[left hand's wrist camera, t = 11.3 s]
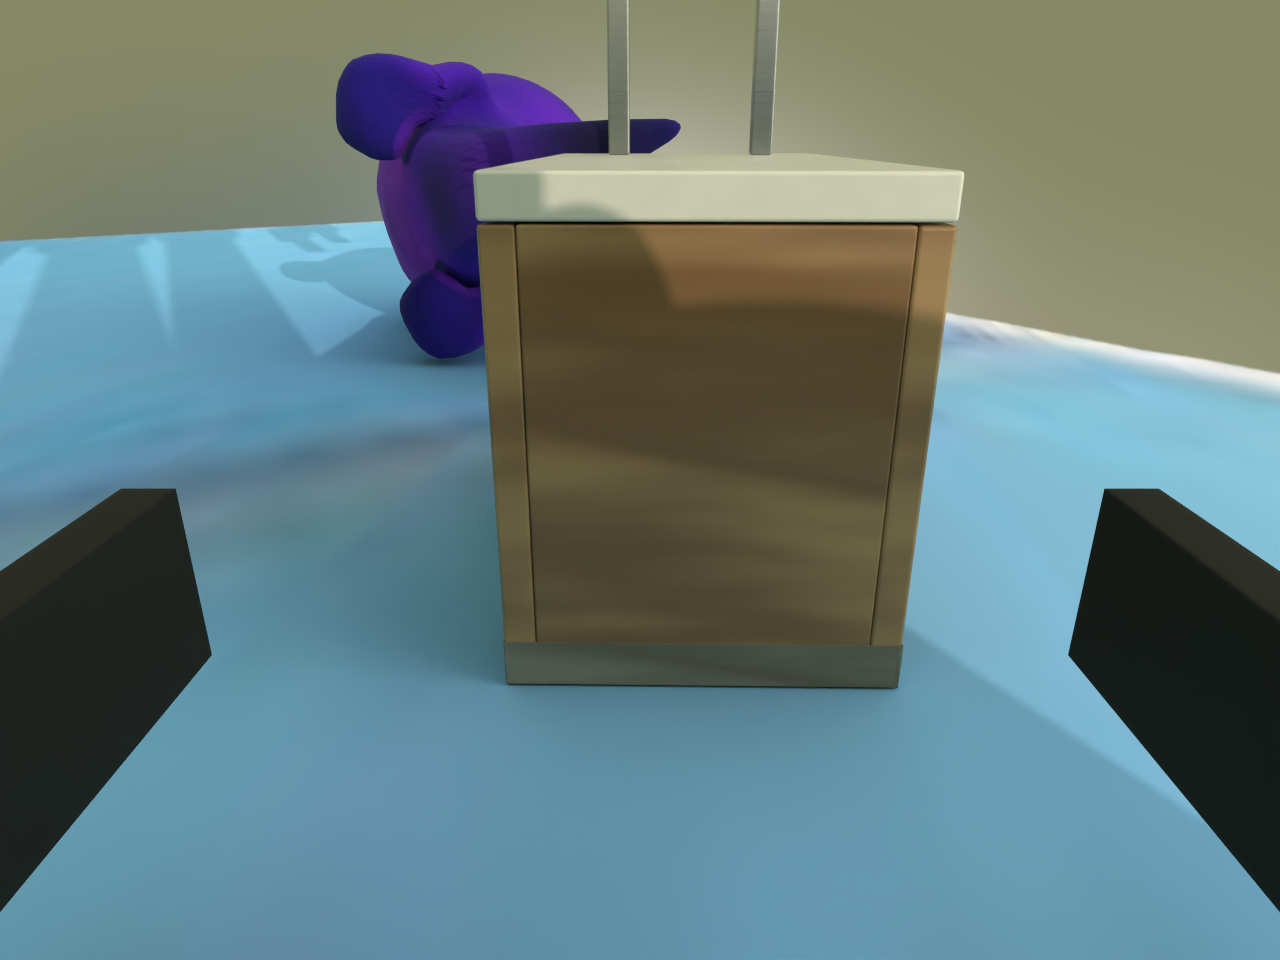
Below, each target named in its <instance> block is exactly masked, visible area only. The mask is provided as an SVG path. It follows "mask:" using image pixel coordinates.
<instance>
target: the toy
mask: <svg viewBox="0 0 1280 960" xmlns="http://www.w3.org/2000/svg"><path fill="white" fill-rule="evenodd" d="M336 122H337V128H338V131H339V133H340V135H341V136H342V138H343V139H344V140H345V142H346V143H347V144H349V145H350V146H351V147H353V148H354V149H356V150H358V151H359V152H361V153H363V154H365V155H366V156H368V157H370V158H373V159H376V160H380V161H379V168H378V175H377V193H378V198H379V203H380V208H381V212H382V216H383V220H384V223H385V226H386V229H387V233H388V236H389V238H390V241H391V243H392V246H393V248H394V251H395V253H396V256H397V259H398V261H399V263H400V266H401V268H402V270H403V271H404V273H405V274H406V276H407V277H408V279H409V280H410V281H411V283H410V285H409V286H408V288H407V289H406V290H405V292H404V293H403V295H402V297H401V300H400V312H401V315H402V318H403V321H404V323H405V325H406V326H407V328H408V330H409V332H410V334H411V335H412V337H413V339H414V340H415V342H416V343H417V344H418V345H419V347H421V348H422V349H423V350H424V351H425V352H427V353H428V354H430V355H432V356H434V357H437V358H439V359H443V358H454V357H457V356H461V355H464V354H467V353H470V352H472V351H474V350H476V349H478V348H479V347H481V346H482V345H484V329H483V315H482V300H481V285H480V270H479V255H478V241H477V226H478V225H480V224H482V223H484V222H486V221H479V220H477V218H476V210H475V195H474V181H473V174H474V171H477V170H480V169H486V168H491V167H496V166H501V165H507V164H512V163H517V162H522V161H528V160H533V159H538V158H543V157H549V156H554V155H559V154H564V153H591V154H609V132H608V120H599V121H583V122H582V121H581V120H580V118H579V117H578V116H577V115H576V114H575V113H574V111H573V110H572V109H571V108H570V107H569V106H568V105H567V104H566V103H565V102H563V101H562V100H561V99H560V98H558V97H557V96H556V95H554V94H553V93H552V92H550V91H548V90H547V89H545V88H543V87H541V86H539V85H538V84H535V83H533V82H531V81H528V80H525V79H522V78H519V77H516V76H511V75H506V74H497V73H486V74H482V72H481V71H479V70H478V69H477V68H475V67H474V66H472V65H470V64H466V63H463V62H446V63H441V64H435V65H430V64H426V63H423V62H420V61H416V60H413V59H409V58H406V57H402V56H398V55H393V54H379V53H377V54H369V55H364V56H361V57H359V58H356V59H353V60H352V61H351V62H350V63H349V64H348V65H347V66H346V68H345V69H344V71H343V73H342V75H341V77H340V79H339V81H338V87H337V92H336ZM680 128H681V127H680V124H679V123H678V122H676V121H674V120H669V119H630V154H650V153H652V152H653V151H655V150H656V149H658V148H659V147H661V146H663V145H664V144H666V143H667V142H669V141H670V140H671V139H673V138H674V137H675V136H676V135H677V134H678V132H679V130H680Z"/></svg>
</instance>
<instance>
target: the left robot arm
mask: <svg viewBox="0 0 1280 960" xmlns="http://www.w3.org/2000/svg"><path fill="white" fill-rule="evenodd" d="M211 655H212V654H211V649H210V644H209V640H208V635H207V631H206V626H205V622H204V617H203V612H202V608H201V603H200V599H199V594H198V590H197V585H196V580H195V576H194V571H193V567H192V562H191V557H190V553H189V548H188V544H187V539H186V535H185V530H184V525H183V521H182V516H181V512H180V507H179V502H178V498H177V493H176V489H120V490H119V491H117V492H116V493H114V494H113V495H111V496H110V497H108V498H107V499H105V500H104V501H103V502H101V503H100V504H98V505H97V506H95V507H94V508H92V509H91V510H89V511H88V512H86V513H85V514H83V515H82V516H81V517H79V518H78V519H76V520H75V521H73V522H72V523H70V524H69V525H67V526H66V527H64V528H63V529H61V530H60V531H59V532H57V533H56V534H54V535H53V536H51V537H50V538H48V539H47V540H45V541H44V542H42V543H41V544H39V545H38V546H37V547H35V548H34V549H32V550H31V551H29V552H28V553H26V554H25V555H23V556H22V557H20V558H19V559H17V560H16V561H15V562H13V563H12V564H10V565H9V566H7V567H6V568H4V569H3V570H1V571H0V911H1V910H2V909H3V908H4V907H5V905H6V904H7V903H8V902H9V901H10V899H11V898H12V897H13V896H14V894H15V893H16V892H17V891H18V890H19V888H20V887H21V886H22V885H23V884H24V882H25V881H26V880H27V879H28V877H29V876H30V875H31V874H32V873H33V871H34V870H35V869H36V868H37V867H38V865H39V864H40V863H41V862H42V860H43V859H44V858H45V857H46V856H47V854H48V853H49V852H50V851H51V850H52V848H53V847H54V846H55V845H56V843H57V842H58V841H59V840H60V839H61V837H62V836H63V835H64V834H65V833H66V831H67V830H68V829H69V828H70V827H71V825H72V824H73V823H74V822H75V820H76V819H77V818H78V817H79V816H80V814H81V813H82V812H83V811H84V810H85V808H86V807H87V806H88V805H89V803H90V802H91V801H92V800H93V799H94V797H95V796H96V795H97V794H98V793H99V791H100V790H101V789H102V788H103V786H104V785H105V784H106V783H107V782H108V780H109V779H110V778H111V777H112V776H113V774H114V773H115V772H116V771H117V769H118V768H119V767H120V766H121V765H122V763H123V762H124V761H125V760H126V759H127V757H128V756H129V755H130V754H131V752H132V751H133V750H134V749H135V748H136V746H137V745H138V744H139V743H140V742H141V740H142V739H143V738H144V737H145V735H146V734H147V733H148V732H149V731H150V729H151V728H152V727H153V726H154V725H155V723H156V722H157V721H158V720H159V718H160V717H161V716H162V715H163V714H164V712H165V711H166V710H167V709H168V708H169V706H170V705H171V704H172V703H173V701H174V700H175V699H176V698H177V697H178V695H179V694H180V693H181V692H182V691H183V689H184V688H185V687H186V686H187V684H188V683H189V682H190V681H191V680H192V678H193V677H194V676H195V675H196V674H197V672H198V671H199V670H200V669H201V667H202V666H203V665H204V664H205V663H206V661H207V660H208V659H209V658H210V657H211ZM1068 655H1069V657H1070V658H1071V659H1072V660H1073V661H1074V663H1075V664H1076V665H1077V666H1078V667H1079V669H1080V670H1081V671H1082V672H1083V674H1084V675H1085V676H1086V677H1087V678H1088V680H1089V681H1090V682H1091V683H1092V684H1093V686H1094V687H1095V688H1096V689H1097V691H1098V692H1099V693H1100V694H1101V695H1102V697H1103V698H1104V699H1105V700H1106V701H1107V703H1108V704H1109V705H1110V706H1111V708H1112V709H1113V710H1114V711H1115V712H1116V714H1117V715H1118V716H1119V717H1120V718H1121V720H1122V721H1123V722H1124V723H1125V725H1126V726H1127V727H1128V728H1129V729H1130V731H1131V732H1132V733H1133V734H1134V735H1135V737H1136V738H1137V739H1138V740H1139V742H1140V743H1141V744H1142V745H1143V746H1144V748H1145V749H1146V750H1147V751H1148V752H1149V754H1150V755H1151V756H1152V757H1153V759H1154V760H1155V761H1156V762H1157V763H1158V765H1159V766H1160V767H1161V768H1162V769H1163V771H1164V772H1165V773H1166V774H1167V776H1168V777H1169V778H1170V779H1171V780H1172V782H1173V783H1174V784H1175V785H1176V786H1177V788H1178V789H1179V790H1180V791H1181V793H1182V794H1183V795H1184V796H1185V797H1186V799H1187V800H1188V801H1189V802H1190V803H1191V805H1192V806H1193V807H1194V808H1195V810H1196V811H1197V812H1198V813H1199V814H1200V816H1201V817H1202V818H1203V819H1204V820H1205V822H1206V823H1207V824H1208V825H1209V827H1210V828H1211V829H1212V830H1213V831H1214V833H1215V834H1216V835H1217V836H1218V837H1219V839H1220V840H1221V841H1222V842H1223V844H1224V845H1225V846H1226V847H1227V848H1228V850H1229V851H1230V852H1231V853H1232V854H1233V856H1234V857H1235V858H1236V859H1237V861H1238V862H1239V863H1240V864H1241V865H1242V867H1243V868H1244V869H1245V870H1246V871H1247V873H1248V874H1249V875H1250V876H1251V877H1252V879H1253V880H1254V881H1255V882H1256V884H1257V885H1258V886H1259V887H1260V888H1261V890H1262V891H1263V892H1264V893H1265V894H1266V896H1267V897H1268V898H1269V899H1270V901H1271V902H1272V903H1273V904H1274V905H1275V907H1276V908H1277V909H1278V910H1279V911H1280V571H1279V570H1277V569H1276V568H1274V567H1273V566H1271V565H1270V564H1268V563H1267V562H1265V561H1264V560H1263V559H1261V558H1260V557H1258V556H1257V555H1255V554H1254V553H1252V552H1251V551H1249V550H1248V549H1246V548H1245V547H1243V546H1242V545H1241V544H1239V543H1238V542H1236V541H1235V540H1233V539H1232V538H1230V537H1229V536H1227V535H1226V534H1224V533H1223V532H1221V531H1220V530H1219V529H1217V528H1216V527H1214V526H1213V525H1211V524H1210V523H1208V522H1207V521H1205V520H1204V519H1202V518H1201V517H1199V516H1198V515H1197V514H1195V513H1194V512H1192V511H1191V510H1189V509H1188V508H1186V507H1185V506H1183V505H1182V504H1180V503H1179V502H1177V501H1176V500H1175V499H1173V498H1172V497H1170V496H1169V495H1167V494H1166V493H1164V492H1163V491H1161V490H1160V489H1104V493H1103V498H1102V502H1101V507H1100V512H1099V516H1098V521H1097V525H1096V530H1095V535H1094V539H1093V544H1092V548H1091V553H1090V557H1089V562H1088V567H1087V571H1086V576H1085V580H1084V585H1083V590H1082V594H1081V599H1080V603H1079V608H1078V612H1077V617H1076V622H1075V626H1074V631H1073V635H1072V640H1071V644H1070V649H1069V654H1068Z"/></svg>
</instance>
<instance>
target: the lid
mask: <svg viewBox="0 0 1280 960" xmlns="http://www.w3.org/2000/svg"><path fill="white" fill-rule="evenodd" d="M779 9H780V0H756V12H755V34H754V57H753V79H752V102H751V124H750V146H749V154H630V43H629V41H630V40H629V0H607V49H608V132H609V154H591V153H564V154H559V155H554V156H549V157H543V158H538V159H533V160H528V161H522V162H517V163H512V164H507V165H501V166H496V167H491V168H486V169H480V170H477V171H474V174H473V181H474V195H475V210H476V218H477V220H479V221H488V222H941V223H946V222H947V223H949V222H950V223H953V222H956V221H957V220H958V218H959V211H960V204H961V196H962V189H963V181H964V173H963V172H962V171H959V170H950V169H941V168H932V167H924V166H915V165H906V164H897V163H888V162H880V161H871V160H862V159H853V158H844V157H835V156H827V155H818V154H772V138H773V119H774V101H775V83H776V64H777V46H778V27H779Z"/></svg>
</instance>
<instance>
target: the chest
mask: <svg viewBox="0 0 1280 960" xmlns="http://www.w3.org/2000/svg"><path fill="white" fill-rule="evenodd" d="M956 233H957V229H956V227H955V226H953V225H950V224H947V223H941V222H488V221H486V222H484V223H482V224H480V225H478V226H477V241H478V255H479V270H480V285H481V300H482V315H483V329H484V344H485V359H486V374H487V388H488V403H489V418H490V433H491V448H492V462H493V477H494V492H495V507H496V521H497V536H498V551H499V566H500V580H501V595H502V610H503V625H504V656H505V671H506V683H510V684H604V685H699V686H793V687H888V688H898V682H899V674H900V667H901V659H902V652H903V644H902V639H903V631H904V624H905V616H906V609H907V601H908V594H909V586H910V579H911V571H912V564H913V556H914V549H915V541H916V534H917V526H918V519H919V511H920V504H921V496H922V489H923V481H924V474H925V466H926V459H927V451H928V444H929V436H930V429H931V421H932V414H933V406H934V398H935V391H936V383H937V376H938V368H939V361H940V353H941V346H942V338H943V331H944V323H945V316H946V308H947V301H948V293H949V286H950V278H951V271H952V263H953V256H954V248H955V241H956Z"/></svg>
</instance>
